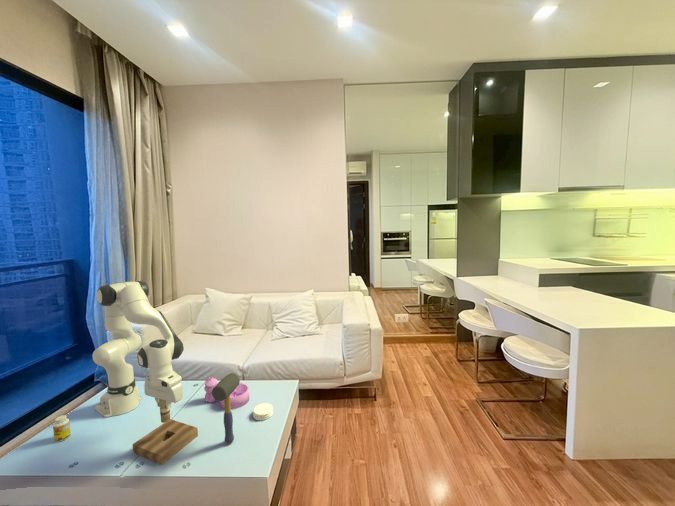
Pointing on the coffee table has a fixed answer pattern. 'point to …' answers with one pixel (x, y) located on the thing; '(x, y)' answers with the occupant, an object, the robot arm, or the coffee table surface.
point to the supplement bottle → (61, 428)
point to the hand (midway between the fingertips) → (164, 407)
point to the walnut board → (163, 450)
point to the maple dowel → (164, 411)
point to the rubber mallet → (226, 402)
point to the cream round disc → (263, 411)
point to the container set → (236, 397)
